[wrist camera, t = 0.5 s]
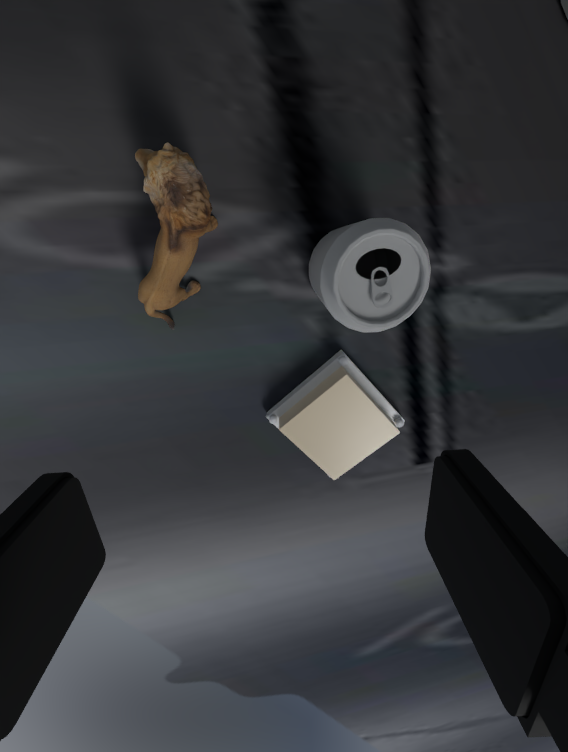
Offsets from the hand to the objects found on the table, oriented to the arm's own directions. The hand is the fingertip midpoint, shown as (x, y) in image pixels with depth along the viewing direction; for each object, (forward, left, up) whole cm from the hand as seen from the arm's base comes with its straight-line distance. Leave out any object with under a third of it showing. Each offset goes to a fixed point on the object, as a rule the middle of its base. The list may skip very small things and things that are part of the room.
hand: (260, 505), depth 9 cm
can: (-8, +2, -27) cm, 28 cm away
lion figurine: (+2, -10, -27) cm, 29 cm away
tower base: (+3, +13, -26) cm, 30 cm away
